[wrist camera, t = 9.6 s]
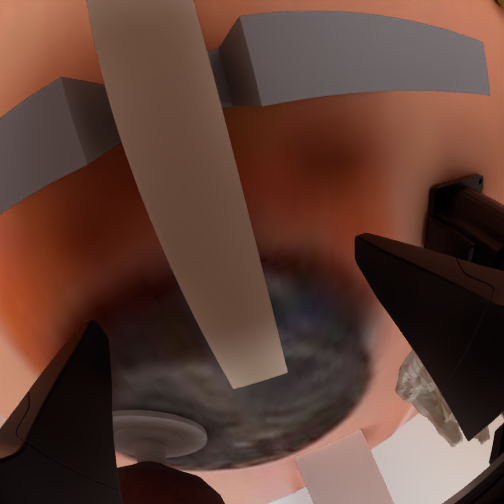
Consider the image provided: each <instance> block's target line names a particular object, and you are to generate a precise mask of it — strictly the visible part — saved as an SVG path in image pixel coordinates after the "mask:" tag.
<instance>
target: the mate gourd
mask: <svg viewBox="0 0 504 504" xmlns="http://www.w3.org/2000/svg"><path fill="white" fill-rule="evenodd" d="M112 415H113V433H114V445H115V450H117V451H120V452H123V453H127V454H130V455H135V457H136V459H137V461H138V463H136V464H133V465H129V466H124V467H119V468H117V472H118V480H119V486H120V492H121V497H122V503H123V504H225V503H224V501H223V499H222V497H221V496H220V494H219V493H217V492H216V491H215V490H214V489H213V488H212V487H210V486H209V485H208V484H207V483H206V482H205V481H204V480H203V479H201V478H200V477H198V476H196V475H193V474H189V473H186V472H183V471H180V470H176V469H173V468H170V467H168V466H166V465H164V461H165V458H170V457H178V456H183V455H187V454H190V453H193V452H196V451H198V450H200V449H201V448H202V447H204V446H205V444H206V443H207V433H206V431H205V429H204V428H203V427H202V426H201V425H200V424H198V423H196V422H195V421H193V420H190V419H187V418H185V417H182V416H178V415H174V414H169V413H164V412H158V411H149V410H118V411H112Z"/></svg>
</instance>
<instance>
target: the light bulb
mask: <svg viewBox="0 0 504 504" xmlns="http://www.w3.org/2000/svg"><path fill="white" fill-rule="evenodd" d="M497 1H498V2H499V3H500V5H501V6H502V7H504V0H497Z"/></svg>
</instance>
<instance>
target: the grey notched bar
mask: <svg viewBox="0 0 504 504" xmlns="http://www.w3.org/2000/svg"><path fill="white" fill-rule="evenodd" d="M207 53H208V57H209V61H210V65H211V69H212V73H213V76H214V80H215V84H216V88H217V92H218V96H219V100H220V103H221V107H222V109H223V108H227V107H231V106H260V107H263V106H268V105H273V104H278V103H283V102H289V101H295V100H301V99H308V98H315V97H322V96H330V95H339V94H349V93H362V92H378V91H445V92H460V93H471V94H480V95H488V96H490V91H489V81H488V72H487V65H486V58H485V52H484V47H483V42H481V41H479V40H476V39H473V38H471V37H468V36H465V35H462V34H459V33H456V32H453V31H450V30H446V29H443V28H439V27H435V26H432V25H428V24H424V23H419V22H415V21H410V20H405V19H400V18H394V17H388V16H381V15H374V14H365V13H355V12H340V11H286V12H271V13H261V14H252V15H244V16H239V18H238V19H237V21H236V22H235V24H234V25H233V27H232V28H231V30H230V31H229V33H228V34H227V36H226V38H225V39H224V41H223V42H222V44H221V46H220V47H219V49H215V50H210V51H207ZM120 143H122V141H121V138H120V135H119V132H118V129H117V126H116V122H115V119H114V116H113V113H112V109H111V106H110V102H109V99H108V95H107V92H106V88H105V85H103V84H98V83H93V82H88V81H82V80H76V79H70V78H64V77H60V78H59V79H57V80H55V81H53V82H52V83H50V84H48V85H47V86H45V87H44V88H42V89H40V90H39V91H37V92H36V93H34V94H33V95H31V96H30V97H28V98H27V99H25V100H24V101H22V102H21V103H20V104H18V105H17V106H15V107H14V108H13V109H11V110H10V111H9V112H7V113H6V114H5V115H4V116H2V117H1V118H0V214H1V213H3V212H4V211H6V210H7V209H9V208H10V207H12V206H13V205H15V204H17V203H18V202H20V201H21V200H23V199H25V198H26V197H28V196H30V195H31V194H33V193H35V192H36V191H38V190H40V189H42V188H43V187H45V186H47V185H49V184H51V183H53V182H54V181H56V180H58V179H60V178H62V177H64V176H66V175H68V174H70V173H72V172H74V171H76V170H78V169H80V168H82V167H84V166H86V165H88V164H89V163H91V162H92V161H94V160H95V159H97V158H98V157H100V156H101V155H103V154H104V153H106V152H107V151H109V150H110V149H112V148H114V147H115V146H117V145H118V144H120Z"/></svg>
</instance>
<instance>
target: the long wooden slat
mask: <svg viewBox="0 0 504 504" xmlns="http://www.w3.org/2000/svg"><path fill="white" fill-rule="evenodd" d="M86 2H87V8H88V14H89V19H90V24H91V29H92V34H93V39H94V44H95V48H96V53H97V57H98V61H99V65H100V69H101V73H102V77H103V81H104V85H105V88H106V92H107V95H108V99H109V102H110V106H111V109H112V113H113V116H114V119H115V122H116V126H117V129H118V132H119V135H120V138H121V141H122V144H123V147H124V150H125V153H126V156H127V159H128V162H129V165H130V167H131V170H132V173H133V176H134V178H135V181H136V184H137V187H138V189H139V192H140V194H141V197H142V200H143V202H144V205H145V207H146V210H147V212H148V215H149V217H150V220H151V222H152V225H153V227H154V230H155V232H156V234H157V237H158V239H159V241H160V244H161V246H162V248H163V251H164V253H165V255H166V257H167V260H168V262H169V264H170V266H171V269H172V271H173V273H174V275H175V277H176V280H177V282H178V284H179V286H180V288H181V290H182V292H183V294H184V296H185V298H186V301H187V303H188V305H189V307H190V309H191V311H192V313H193V315H194V317H195V319H196V321H197V323H198V325H199V327H200V329H201V331H202V332H203V334H204V336H205V338H206V340H207V342H208V344H209V346H210V348H211V350H212V351H213V353H214V355H215V357H216V359H217V361H218V362H219V364H220V366H221V368H222V370H223V371H224V373H225V375H226V377H227V378H228V380H229V382H230V384H231V385H232V387H233V389H236V388H240V387H243V386H247V385H250V384H253V383H257V382H260V381H263V380H266V379H269V378H273V377H276V376H279V375H282V374H285V373H287V368H286V364H285V359H284V355H283V351H282V347H281V343H280V339H279V335H278V331H277V326H276V322H275V318H274V314H273V310H272V306H271V302H270V298H269V294H268V290H267V286H266V282H265V278H264V274H263V270H262V265H261V261H260V257H259V253H258V249H257V245H256V241H255V237H254V233H253V229H252V225H251V221H250V217H249V213H248V209H247V205H246V201H245V197H244V194H243V190H242V186H241V182H240V178H239V174H238V170H237V166H236V162H235V158H234V154H233V150H232V146H231V142H230V138H229V135H228V131H227V127H226V123H225V119H224V115H223V111H222V107H221V103H220V100H219V96H218V92H217V88H216V84H215V80H214V76H213V73H212V69H211V65H210V61H209V57H208V53H207V50H206V46H205V42H204V38H203V34H202V31H201V27H200V23H199V19H198V16H197V12H196V8H195V4H194V1H193V0H86Z"/></svg>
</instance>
